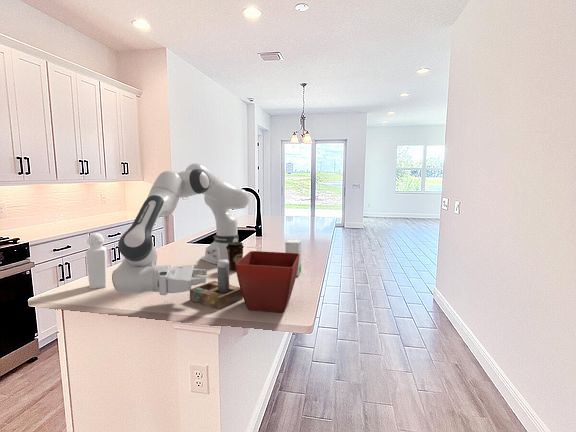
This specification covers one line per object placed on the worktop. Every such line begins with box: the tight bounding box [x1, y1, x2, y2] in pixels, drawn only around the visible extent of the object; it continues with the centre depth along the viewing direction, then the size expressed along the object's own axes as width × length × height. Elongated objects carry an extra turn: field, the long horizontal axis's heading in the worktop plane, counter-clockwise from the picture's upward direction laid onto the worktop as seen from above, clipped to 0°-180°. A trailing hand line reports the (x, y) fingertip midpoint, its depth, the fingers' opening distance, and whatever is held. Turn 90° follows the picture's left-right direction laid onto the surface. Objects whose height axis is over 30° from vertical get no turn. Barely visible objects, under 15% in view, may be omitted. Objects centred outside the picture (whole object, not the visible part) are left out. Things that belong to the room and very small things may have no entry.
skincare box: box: [284, 239, 302, 277], centre depth 150 cm, size 8×7×16 cm
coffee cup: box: [226, 241, 245, 272], centre depth 157 cm, size 9×8×13 cm
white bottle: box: [85, 232, 108, 290], centre depth 131 cm, size 6×6×22 cm
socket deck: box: [189, 280, 244, 310], centre depth 119 cm, size 15×12×4 cm
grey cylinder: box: [216, 259, 230, 294], centre depth 116 cm, size 4×4×14 cm
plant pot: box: [235, 250, 300, 313], centre depth 113 cm, size 19×19×17 cm
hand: (206, 275), depth 114 cm, fingers open, 8 cm apart
